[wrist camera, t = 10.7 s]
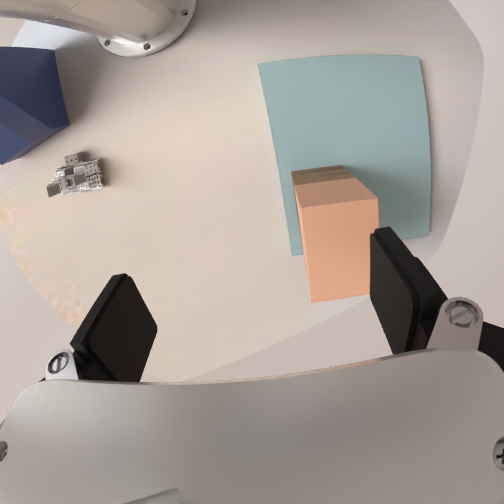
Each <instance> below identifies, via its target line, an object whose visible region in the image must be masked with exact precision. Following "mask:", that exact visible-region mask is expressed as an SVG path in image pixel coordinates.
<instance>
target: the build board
mask: <svg viewBox="0 0 504 504" xmlns="http://www.w3.org/2000/svg"><path fill="white" fill-rule="evenodd" d="M258 68H259V73H260V77H261V82H262V87H263V92H264V97H265V102H266V107H267V112H268V117H269V122H270V127H271V132H272V138H273V143H274V148H275V154H276V159H277V165H278V171H279V176H280V182H281V188H282V194H283V200H284V206H285V212H286V219H287V225H288V232H289V238H290V245H291V252H292V256H295V255H302V254H303V249H302V244H301V238H300V231H299V224H298V217H297V210H296V203H295V196H294V190H293V183H292V177H291V171H298V170H305V169H313V168H320V167H328V166H337V165H342V166H343V167H344V168H345V169H346V170H348V171H349V172H350V173H351V174H352V175H353V176H354V177H356V179H357V180H359V181H360V182H361V183H362V184H363V185H364V186H365V187H366V188H367V189H369V190H370V191H371V192H372V193H373V194H374V195H375V196H376V197H377V198H378V221H379V228H382V227H388V226H390V227H391V228H392V230H393V231H394V232H395V233H396V234H397V236H398V237H399V238H400V239H401V240H404V239H411V238H417V237H424V236H429V228H430V208H431V157H430V138H429V125H428V115H427V106H426V98H425V91H424V84H423V78H422V72H421V66H420V61H419V57H415V56H400V55H334V56H319V57H307V58H297V59H289V60H281V61H274V62H268V63H261V64H258Z"/></svg>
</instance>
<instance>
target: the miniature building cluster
mask: <svg viewBox="0 0 504 504" xmlns="http://www.w3.org/2000/svg"><path fill="white" fill-rule="evenodd" d="M65 161H66V168H58V169H57V170H56V172H54V174H55V179H54V180H53V182H52V183H49V185H48V186H47V192H48V196H49V197H51V196H54V195H56V194H59V193H61V192H62V195H65V194H70V193H71V194H73V193H79V192H82V191H83V190H87V189H99V188H103V187H104V186H105V185H104V180H103V173H100V172H102V171H101V166H100V159H99V158H98V159H96V160H95V161H90V162H86V163H85V162H83V158H82V152H80V153H78V154H73V155H70V156H66V157H65ZM81 162H83V163H81ZM72 165H75V166H74V167H69V166H72ZM99 173H100V174H99Z"/></svg>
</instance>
